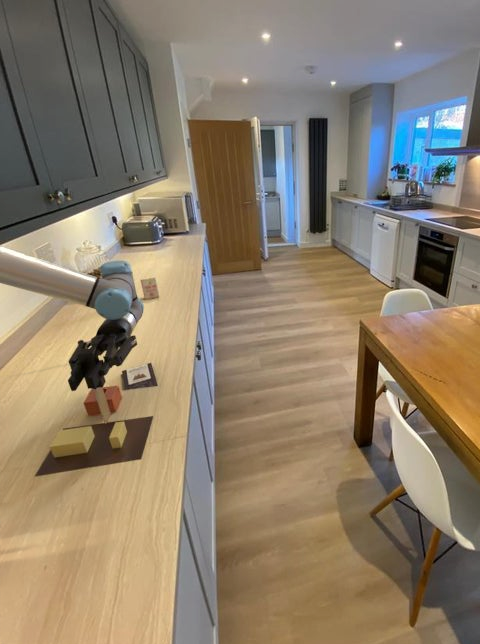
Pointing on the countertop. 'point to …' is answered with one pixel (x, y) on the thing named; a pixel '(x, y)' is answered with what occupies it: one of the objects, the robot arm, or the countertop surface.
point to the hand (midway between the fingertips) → (81, 384)
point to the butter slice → (118, 435)
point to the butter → (72, 441)
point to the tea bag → (150, 288)
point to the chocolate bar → (139, 377)
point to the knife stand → (111, 396)
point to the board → (103, 448)
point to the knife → (88, 363)
